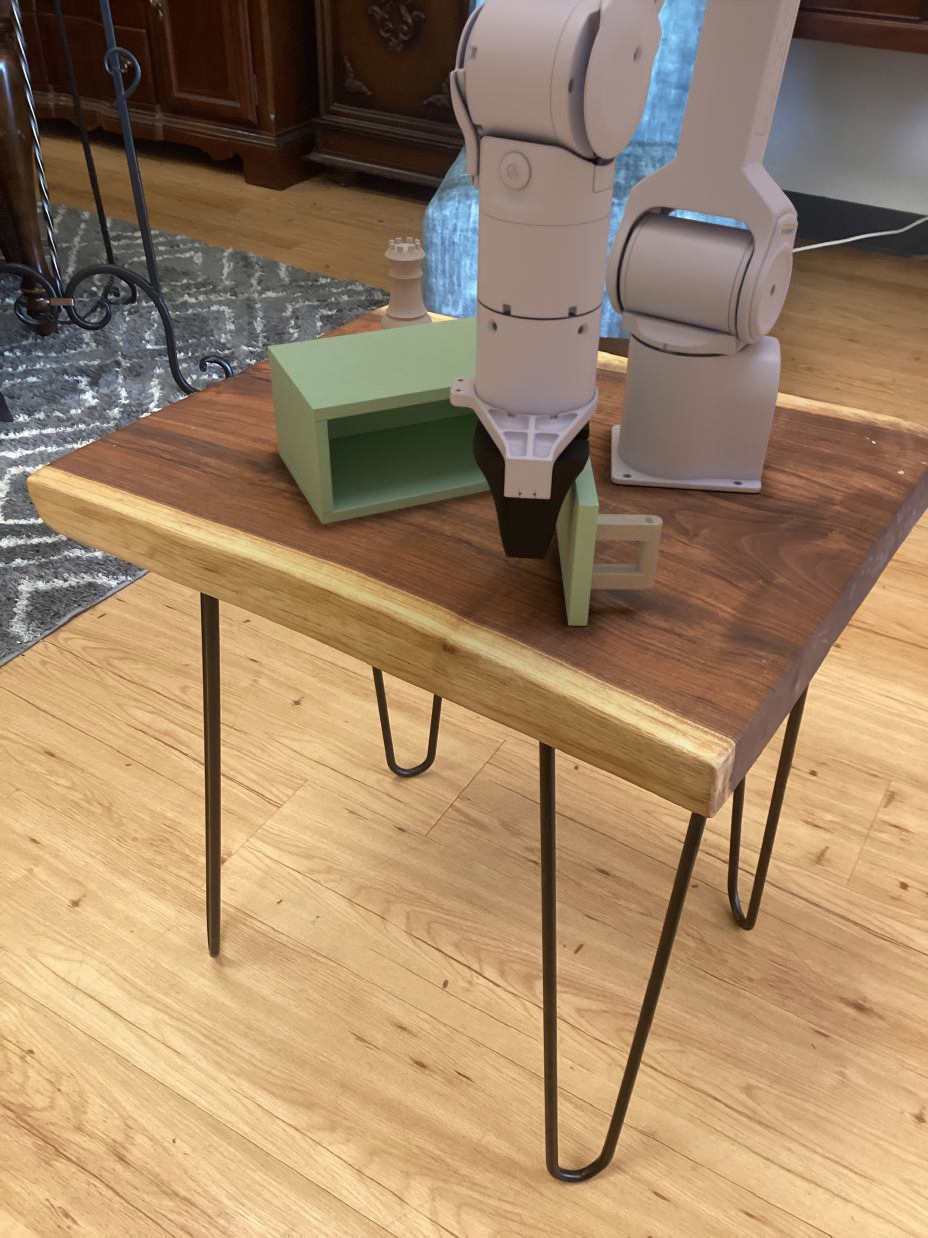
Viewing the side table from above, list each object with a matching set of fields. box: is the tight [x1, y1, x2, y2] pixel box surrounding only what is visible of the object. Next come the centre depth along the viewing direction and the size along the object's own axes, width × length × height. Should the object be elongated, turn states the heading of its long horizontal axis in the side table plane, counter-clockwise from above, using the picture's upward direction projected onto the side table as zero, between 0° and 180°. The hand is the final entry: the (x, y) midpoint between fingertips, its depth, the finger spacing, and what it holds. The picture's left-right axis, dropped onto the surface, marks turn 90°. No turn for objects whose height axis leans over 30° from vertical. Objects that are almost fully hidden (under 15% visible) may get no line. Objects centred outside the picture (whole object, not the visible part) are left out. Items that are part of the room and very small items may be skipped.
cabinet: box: [267, 315, 491, 525], centre depth 67 cm, size 10×16×8 cm, turn 113°
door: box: [555, 455, 664, 627], centre depth 59 cm, size 4×16×7 cm, turn 0°
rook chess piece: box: [380, 236, 433, 330], centre depth 85 cm, size 4×4×8 cm
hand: (525, 551), depth 55 cm, fingers closed, pressing on door
